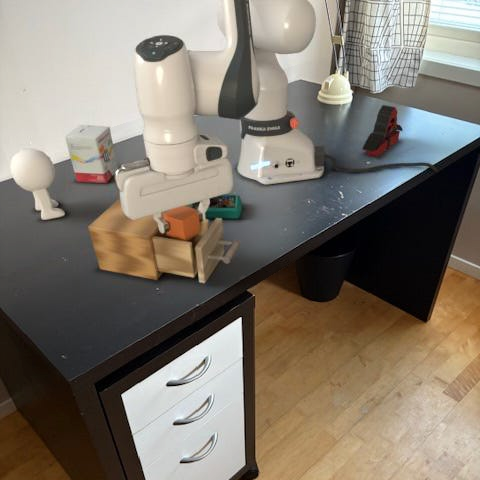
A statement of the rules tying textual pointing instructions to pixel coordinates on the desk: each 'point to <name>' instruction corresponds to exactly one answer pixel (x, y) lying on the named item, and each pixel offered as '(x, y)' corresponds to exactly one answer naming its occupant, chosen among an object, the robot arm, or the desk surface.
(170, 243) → the drawer
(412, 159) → the desk surface
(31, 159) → the toy character
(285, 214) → the desk surface
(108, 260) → the cabinet
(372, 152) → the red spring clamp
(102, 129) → the ink box
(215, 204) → the digital multimeter
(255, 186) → the desk surface
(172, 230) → the block
